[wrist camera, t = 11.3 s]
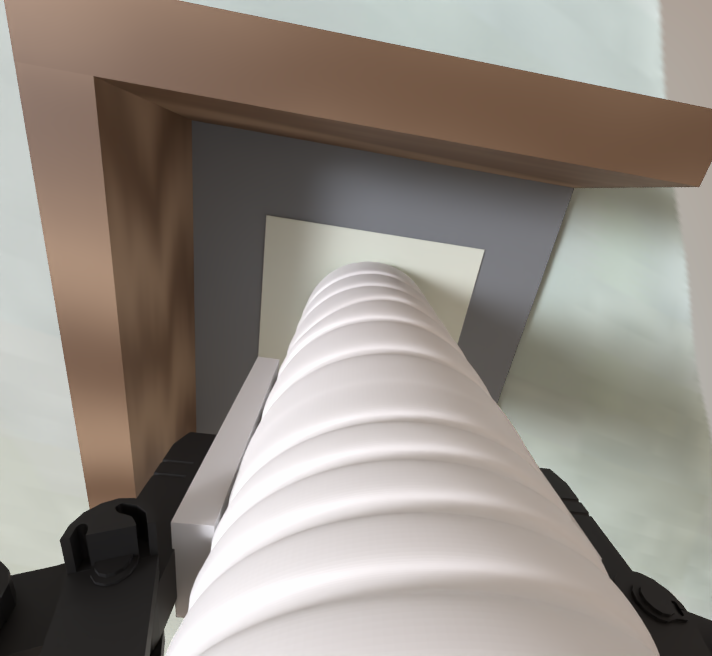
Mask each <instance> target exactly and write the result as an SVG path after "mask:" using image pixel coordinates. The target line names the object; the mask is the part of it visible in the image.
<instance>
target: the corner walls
mask: <svg viewBox="0 0 712 656" xmlns="http://www.w3.org/2000/svg"><path fill="white" fill-rule="evenodd" d="M4 3H5V9H6V15H7V21H8V27H9V33H10V39H11V45H12V51H13V56H14V62H15V68H16V74H17V80H18V86H19V92H20V98H21V104H22V110H23V116H24V122H25V128H26V134H27V139H28V145H29V151H30V157H31V163H32V169H33V175H34V181H35V187H36V193H37V199H38V205H39V211H40V217H41V223H42V228H43V234H44V240H45V246H46V252H47V258H48V264H49V270H50V276H51V282H52V288H53V294H54V300H55V306H56V311H57V317H58V323H59V329H60V335H61V341H62V347H63V353H64V359H65V365H66V371H67V377H68V383H69V389H70V394H71V400H72V406H73V412H74V418H75V424H76V430H77V436H78V442H79V448H80V454H81V460H82V466H83V472H84V478H85V483H86V489H87V495H88V501H89V507H90V509H91V508H93V507H95V506H97V505H99V504H101V503H104V502H107V501H111V500H114V499H118V498H137V497H138V495H139V494H140V492H141V491H142V489H143V488H144V486H145V485H146V484H147V482H148V481H149V479H150V478H151V476H153V475H154V472H155V470H156V469H157V467H158V466H159V464H160V463H161V462H163V458H164V457H165V456H166V454H167V453H168V451H169V450H170V448H171V447H172V445H173V444H174V443H175V442H177V441H178V440H179V439H181V438H182V437H184V436H185V435H186V434H188V433H189V432H196V373H195V307H194V242H193V176H192V120H193V121H199V122H204V123H210V124H216V125H221V126H227V127H233V128H238V129H244V130H250V131H255V132H261V133H267V134H272V135H278V136H284V137H289V138H295V139H300V140H306V141H312V142H317V143H323V144H329V145H334V146H340V147H346V148H351V149H357V150H363V151H368V152H374V153H380V154H385V155H391V156H396V157H402V158H408V159H413V160H419V161H425V162H430V163H436V164H442V165H447V166H453V167H459V168H464V169H470V170H476V171H481V172H487V173H493V174H498V175H504V176H509V177H515V178H521V179H526V180H532V181H538V182H543V183H549V184H555V185H560V186H566V187H572V188H628V187H699V186H700V184H701V182H702V180H703V178H704V176H705V174H706V172H707V170H708V168H709V166H710V164H711V162H712V109H710V108H705V107H700V106H695V105H690V104H686V103H680V102H675V101H671V100H666V99H661V98H656V97H651V96H646V95H641V94H636V93H631V92H626V91H622V90H617V89H612V88H607V87H602V86H597V85H592V84H587V83H582V82H577V81H572V80H567V79H563V78H558V77H553V76H548V75H543V74H538V73H533V72H528V71H523V70H518V69H513V68H508V67H504V66H499V65H494V64H489V63H484V62H479V61H474V60H469V59H464V58H459V57H454V56H449V55H444V54H440V53H435V52H430V51H425V50H420V49H415V48H410V47H405V46H400V45H395V44H390V43H385V42H381V41H376V40H371V39H366V38H361V37H356V36H351V35H346V34H341V33H336V32H331V31H326V30H321V29H317V28H312V27H307V26H302V25H297V24H292V23H287V22H282V21H277V20H272V19H267V18H262V17H258V16H253V15H248V14H243V13H238V12H233V11H228V10H223V9H218V8H213V7H208V6H203V5H199V4H194V3H189V2H184V1H179V0H4Z"/></svg>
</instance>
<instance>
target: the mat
mask: <svg viewBox="0 0 712 656" xmlns="http://www.w3.org/2000/svg"><path fill="white" fill-rule="evenodd" d="M192 176H193V242H194V307H195V373H196V433H205V434H215V435H217V434H218V432H219V430H220V428H221V426H222V424H223V422H224V420H225V418H226V416H227V415H228V413H229V411H230V409H231V407H232V405H233V403H234V401H235V399H236V398H237V396H238V394H239V392H240V390H241V388H242V386H243V384H244V382H245V380H246V379H247V377H248V375H249V373H250V371H251V369H252V367H253V365H254V363H255V361H256V360H257V358H258V357H264V358H272V359H280V360H279V369H280V367H281V365H282V363H283V361H284V359H285V358H286V356H287V351H288V348H289V345H290V343H291V341H292V339H293V337H294V335H295V333H296V329H297V326H298V323H299V321H300V319H301V317H302V314H303V310H304V308H305V306H306V304H307V302H308V300H309V297H310V295H311V294H312V292H313V290H314V289H315V287H316V286H317V285H318V284H319V283H320V282H321V281H322V280H323V278H325V277H326V276H327V275H328V274H329V273H331V272H332V271H334V270H336V269H338V268H340V267H342V266H344V265H347V264H351V263H359V262H365V261H371V262H379V263H384V264H387V265H390V266H392V267H394V268H396V269H398V270H400V271H402V272H403V273H405V274H406V275H407V276H409V277H410V278H411V279H412V280H413V281H414V282H415V283H416V285H417V286H418V287H419V289H420V290H421V292H422V293H423V294H424V296H425V297H426V299H427V301H428V303H429V304H430V305H431V307H432V308H433V310H434V311H435V313H436V314H437V316H438V318H439V319H440V320H441V321H442V323H443V324H444V326H445V327H446V329H447V330H448V332H449V333H450V335H451V337H452V338H453V339H454V341H455V342H456V343H457V345H458V346H459V348H460V349H461V351H462V352H463V354H464V356H465V357H466V359H467V361H468V362H469V363H470V365H471V366H472V367H473V369H474V370H475V371H476V373H477V374H478V375H479V377H480V378H481V380H482V382H483V383H484V385H485V386H486V388H487V390H488V392H489V394H490V395H491V397H492V399H493V400H494V401H495V402H496V403H498V400H499V397H500V394H501V391H502V389H503V386H504V383H505V380H506V377H507V375H508V372H509V369H510V366H511V363H512V361H513V358H514V355H515V352H516V349H517V347H518V344H519V341H520V338H521V335H522V333H523V330H524V327H525V324H526V321H527V319H528V316H529V313H530V310H531V307H532V305H533V302H534V299H535V296H536V293H537V291H538V288H539V285H540V282H541V279H542V277H543V274H544V271H545V268H546V265H547V263H548V260H549V257H550V254H551V252H552V249H553V246H554V243H555V240H556V238H557V235H558V232H559V229H560V226H561V224H562V221H563V218H564V215H565V212H566V210H567V207H568V204H569V201H570V198H571V196H572V193H573V190H574V188H572V187H566V186H560V185H555V184H549V183H543V182H538V181H532V180H526V179H521V178H515V177H509V176H504V175H498V174H493V173H487V172H481V171H476V170H470V169H464V168H459V167H453V166H447V165H442V164H436V163H430V162H425V161H419V160H413V159H408V158H402V157H396V156H391V155H385V154H380V153H374V152H368V151H363V150H357V149H351V148H346V147H340V146H334V145H329V144H323V143H317V142H312V141H306V140H300V139H295V138H289V137H284V136H278V135H272V134H267V133H261V132H255V131H250V130H244V129H238V128H233V127H227V126H221V125H216V124H210V123H204V122H199V121H193V120H192ZM278 373H279V372H278Z"/></svg>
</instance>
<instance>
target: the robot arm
mask: <svg viewBox="0 0 712 656" xmlns="http://www.w3.org/2000/svg"><path fill="white" fill-rule="evenodd" d="M279 360H280V359H272V358H264V357H258V358H257V360H256V361H255V363H254V365H253V367H252V369H251V371H250V373H249V375H248V377H247V379H246V380H245V382H244V384H243V386H242V388H241V390H240V392H239V394H238V396H237V398H236V399H235V401H234V403H233V405H232V407H231V409H230V411H229V413H228V415H227V416H226V418H225V420H224V422H223V424H222V426H221V428H220V430H219V432H218V434H217V435H215V434H205V433H196V432H189V433H188V434H186V435H185V436H184V437H182V438H181V439H179V440H178V441H177V442H175V443H174V444H173V445H172V447H171V448H170V450H169V451H168V453H167V454H166V456H165V457H164V458H163V462H161V463H160V464H159V466H158V467H157V469H156V470H155V472H154V475H153V476H151V478H150V479H149V481H148V482H147V484H146V485H145V486H144V488H143V489H142V491H141V492H140V494H139V495H138V497H137V498H118V499H114V500H111V501H107V502H104V503H101V504H99V505H97V506H95V507H93V508H91V509H90V510H88V511H86V512H84V513H83V514H82V515H81V516H79V517H78V518H77V519H76V520H75V521H74V522H73V523H71V524H70V525H69V527H68V528H67V530H66V531H65V533H64V534H63V536H62V537H61V539H60V543H61V547H62V552H63V556H64V561H65V563H64V564H61V565H57V566H53V567H48V568H44V569H39V570H35V571H30V572H25V573H21V574H16V575H10V572H9V570H8V568H7V567H6V566H5V565H4V564H3V563H2V562H1V561H0V656H164V645H165V636H164V628H165V626H166V623H167V621H168V619H169V616H170V614H171V611H172V609H173V606H174V604H175V608H176V617H182V618H185V616H186V615H187V613H188V608H189V599H190V594H191V591H192V588H193V585H194V583H195V580H196V578H197V576H198V574H199V572H200V570H201V568H202V567H203V565H204V563H205V561H206V559H207V558H208V556H209V554H210V552H211V546H212V539H213V536H214V533H215V531H216V528H217V526H218V524H219V522H220V521H221V519H222V517H223V515H224V513H225V511H226V510H227V508H228V505H229V498H230V494H231V491H232V488H233V485H234V483H235V480H236V477H237V474H238V472H239V468H240V465H241V462H242V459H243V457H244V454H245V452H246V449H247V447H248V445H249V443H250V440H251V439H252V437H253V435H254V433H255V431H256V429H257V427H258V426H259V424H260V422H261V419H262V414H263V410H264V407H265V404H266V401H267V399H268V396H269V394H270V392H271V390H272V389H273V387H274V385H275V383H276V381H277V378H278V372H279ZM539 469H540V471H541V473H542V475H543V477H544V478H545V479H546V481H547V482H548V483H549V484H550V485H551V487H552V488H553V489H554V491H555V492H556V493H557V495H558V496H559V498H560V499H561V501H562V502H563V504H564V506H565V507H566V509H567V511H568V513H569V515H570V517H571V519H572V521H573V522H574V523H575V524H576V525H577V527H578V528H579V529H580V530H581V532H582V533H583V534H584V535H585V537H586V538H587V539H588V541H589V542H590V544H591V545H592V547H593V548H594V550H595V551H596V553H597V555H598V556H599V558H600V560H601V561H602V563H603V565H604V567H605V569H606V571H607V573H608V576H609V578H610V579H611V580H612V581H613V582H614V583H615V584H616V586H617V587H618V588H619V589H620V590H621V592H622V593H623V594H624V595H625V597H626V598H627V599H628V601H629V602H630V603H631V605H632V606H633V608H634V609H635V610H636V612H637V613H638V615H639V616H640V618H641V620H642V621H643V623H644V624H645V626H646V628H647V630H648V631H649V633H650V635H651V637H652V639H653V641H654V643H655V645H656V647H657V650H658V652H659V655H660V656H712V621H711V620H708V619H706V618H703V617H700V616H698V615H695V614H693V613H690V612H687V610H686V609H685V608H684V606H683V605H682V604H681V603H680V602H679V601H678V600H677V599H676V598H675V597H674V596H673V595H672V594H671V593H670V592H669V591H668V590H667V589H665V588H664V587H663V586H661V585H660V584H659V583H657V582H656V581H655V580H653V579H651V578H649V577H647V576H645V575H643V574H641V573H638V572H634V571H632V570H631V569H630V567H629V566H628V565H627V563H626V562H625V561H624V559H623V558H622V557H621V555H620V554H619V553H618V551H617V550H616V549H615V547H614V546H613V545H612V543H611V542H610V541H609V539H608V538H607V537H606V535H605V534H604V533H603V531H602V530H601V529H600V527H599V526H598V525H597V523H596V522H595V521H594V519H593V518H592V517H591V516H589V513H588V511H587V510H586V509H585V507H584V506H583V505H582V503H580V502H579V501H578V500H579V499H578V498H577V497H576V495H575V494H574V493H573V491H572V490H571V489H570V487H569V486H568V485H567V483H566V482H564V481H563V480H562V479H561V478H560V477H559V476H557V475H556V474H555V473H554V472H553V471H552V470H550V469H545V468H539Z"/></svg>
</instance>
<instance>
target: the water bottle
mask: <svg viewBox="0 0 712 656" xmlns="http://www.w3.org/2000/svg"><path fill="white" fill-rule="evenodd" d="M165 656H660V655H659V652H658V650H657V647H656V645H655V643H654V641H653V639H652V637H651V635H650V633H649V631H648V630H647V628H646V626H645V624H644V623H643V621H642V620H641V618H640V616H639V615H638V613H637V612H636V610H635V609H634V608H633V606H632V605H631V603H630V602H629V601H628V599H627V598H626V597H625V595H624V594H623V593H622V592H621V590H620V589H619V588H618V587H617V586H616V584H615V583H614V582H613V581H612V580H611V579H610V578H609V576H608V573H607V571H606V569H605V567H604V565H603V563H602V561H601V560H600V558H599V556H598V555H597V553H596V551H595V550H594V548H593V547H592V545H591V544H590V542H589V541H588V539H587V538H586V537H585V535H584V534H583V533H582V532H581V530H580V529H579V528H578V527H577V525H576V524H575V523H574V522H573V521H572V519H571V517H570V515H569V513H568V511H567V509H566V507H565V506H564V504H563V502H562V501H561V499H560V498H559V496H558V495H557V493H556V492H555V491H554V489H553V488H552V487H551V485H550V484H549V483H548V482H547V481H546V479H545V478H544V477H543V475H542V473H541V471H540V469H539V467H538V466H537V464H536V462H535V461H534V459H533V457H532V456H531V454H530V453H529V451H528V450H527V448H526V446H525V444H524V443H523V441H522V439H521V437H520V436H519V434H518V433H517V431H516V429H515V428H514V426H513V425H512V424H511V422H510V421H509V419H508V418H507V416H506V415H505V414H504V412H503V411H502V410H501V408H500V407H499V406H498V405H497V403H496V402H495V401H494V400H493V399H492V397H491V395H490V394H489V392H488V390H487V388H486V386H485V385H484V383H483V382H482V380H481V378H480V377H479V375H478V374H477V373H476V371H475V370H474V369H473V367H472V366H471V365H470V363H469V362H468V361H467V359H466V357H465V356H464V354H463V352H462V351H461V349H460V348H459V346H458V345H457V343H456V342H455V341H454V339H453V338H452V337H451V335H450V333H449V332H448V330H447V329H446V327H445V326H444V324H443V323H442V321H441V320H440V319H439V318H438V316H437V314H436V313H435V311H434V310H433V308H432V307H431V305H430V304H429V303H428V301H427V299H426V297H425V296H424V294H423V293H422V292H421V290H420V289H419V287H418V286H417V285H416V283H415V282H414V281H413V280H412V279H411V278H410V277H409V276H407V275H406V274H405V273H403V272H402V271H400V270H398V269H396V268H394V267H392V266H390V265H387V264H384V263H379V262H371V261H365V262H359V263H351V264H347V265H344V266H342V267H340V268H338V269H336V270H334V271H332V272H331V273H329V274H328V275H327V276H326V277H325V278H323V280H322V281H321V282H320V283H319V284H318V285H317V286H316V287H315V289H314V290H313V292H312V294H311V295H310V297H309V300H308V302H307V304H306V306H305V308H304V310H303V314H302V317H301V319H300V321H299V323H298V326H297V329H296V333H295V335H294V337H293V339H292V341H291V343H290V345H289V348H288V351H287V356H286V358H285V359H284V361H283V363H282V365H281V367H280V369H279V373H278V378H277V381H276V383H275V385H274V387H273V389H272V390H271V392H270V394H269V396H268V399H267V401H266V404H265V407H264V410H263V414H262V419H261V422H260V424H259V426H258V427H257V429H256V431H255V433H254V435H253V437H252V439H251V440H250V443H249V445H248V447H247V449H246V452H245V454H244V457H243V459H242V462H241V465H240V468H239V472H238V474H237V477H236V480H235V483H234V485H233V488H232V491H231V494H230V498H229V505H228V508H227V510H226V511H225V513H224V515H223V517H222V519H221V521H220V522H219V524H218V526H217V528H216V531H215V533H214V536H213V539H212V546H211V552H210V554H209V556H208V558H207V559H206V561H205V563H204V565H203V567H202V568H201V570H200V572H199V574H198V576H197V578H196V580H195V583H194V585H193V588H192V591H191V594H190V599H189V608H188V613H187V615H186V616H185V618H184V619H183V621H182V623H181V625H180V626H179V628H178V630H177V631H176V633H175V635H174V637H173V638H172V641H171V643H170V645H169V647H168V650H167V652H166V654H165Z"/></svg>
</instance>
